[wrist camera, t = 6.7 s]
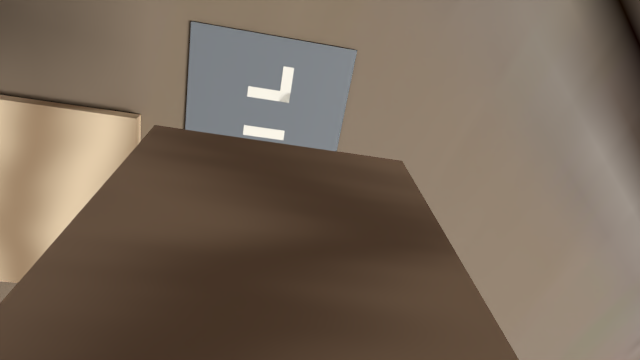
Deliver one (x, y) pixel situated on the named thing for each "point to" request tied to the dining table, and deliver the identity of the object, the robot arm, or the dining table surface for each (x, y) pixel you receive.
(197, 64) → the tile
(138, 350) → the walnut block
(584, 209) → the dining table surface
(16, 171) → the cork pad
